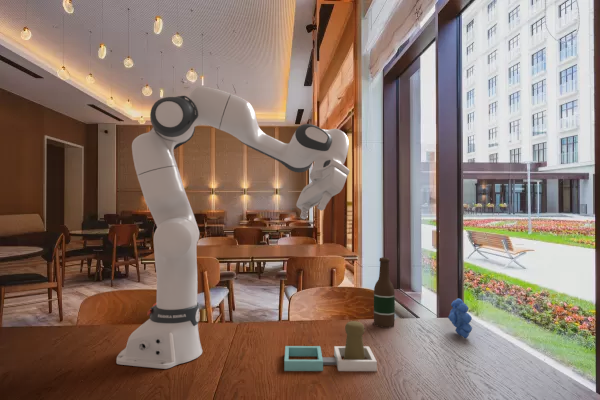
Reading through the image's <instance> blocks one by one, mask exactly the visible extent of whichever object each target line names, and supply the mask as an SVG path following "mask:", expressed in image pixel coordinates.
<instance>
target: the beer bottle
mask: <svg viewBox="0 0 600 400" xmlns="http://www.w3.org/2000/svg"><path fill="white" fill-rule="evenodd" d="M389 263H390V258H389V257H379V276H378V280H377V281H376V282H375V285H374V288H373V325H374V326H377V327H379V328H388V329H389V328H392V327H394V326H395V318H396V317H395V312H396V309H395V307H396V306H395V305H396V301H395V300H396V298H395V297H396V294H395V292H396V291H395V288H394V285H393V283H392V282H391V278H390V265H389Z"/></svg>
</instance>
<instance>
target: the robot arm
mask: <svg viewBox="0 0 600 400" xmlns="http://www.w3.org/2000/svg"><path fill="white" fill-rule="evenodd" d="M149 116H150V123H151V126H152V128H151V130H149V131H148V132H143V133H142V134H140V135H138V136H136V137H135V138H134V139H133V140H132V143H131V151H132V152H131V153H132V159H133V164H134V169H135V172H136V176H137V180H138V183H139V185H140V189H141V192H142V195H143V198H144V199H143V200H144V201H145V204H146V207H147V208H148V209H149V212H150V214H151V217H152V218H153V221H154V224H155V226H156V229H155V231H154V234H153V250H154V251H153V253H154V265H155V272H156V302H155V303H154V304H153V305H152V306H151V307H150V308H149V310H147V316H149V318H148V319H147V320H146V321H144V322H143V323H142V324H141V325H140V326H138V327H137V328H136V329H135V330H134V331H132V332H131V334H130V335H129V336H128V339H127V343H126V347H125V348H124V349H122V350H121V351H120V352H119V353H118V355H117V356H116V364H117V365H121V366H123V365H124V366H131V367H132V366H133V367H140V368H141V367H142V368H152V369H164V370H167V369H170V368H173V367H175V366H177V365H180V364H181V365H182V364H184V363H188V362H191V361H193V360H195V359H197V358H199V357H200V356H201V355H202V354H203V349H202V348H203V347H202V345H201V339H200V333H199V320H200V304H199V302H198V283H199V282H198V261H197V259H198V257H197V255H198V254H197V253H198V252H197V244H198V242H199V239H200V230H199V227H198V223H197V221H196V220H197V219H196V217H195V214H194V212H193V211H194V210H193V208H192V207H191V204H190V201H189V199H188V198H189V197H188V195H187V193H186V190H185V187H184V183H183V181H182V177H181V174H180V171H179V168H178V164H177V161H176V158H175V153H174V150H176V149H177V148H179V147H181V146H182V145H185V144H186V143H187V142H189V141H190V140H191V139H192V138H193V136H194V134H195V130H196V127H197V126H209V127H212V128H215V129H217V130H219V131H222V132H224V133H227V134H229V135H231V136H233V137H234V138H236V139H237V140H238V141H239V142H241V143H242V144H243V145H245V146H246V147H249V148H250V149H252V150H255V151H256V152H258V153H261V154H262V155H265V156H267V157H268V158H271V159H273V160H275V161H277V162H279V163H280V164H282V165H283V166H284V167H285V168H287V169H288V170H290V171H292V172H294V173H304V172H306V171H309V170H310V168H311V170H310V172H309V179H310V180H311V182H310V183H308V184H307V185H305V186H304V187H303V188H302V191H301V192H300V194H299V197H298V199H297V201H296V203H295V205H296V208H298V209H299V210H300V211H301V213H300V215H299V216H300V217H299V218H301V219H302V220H306V219H308V216H309V211H310V210H311V209H312V208H314V207H315V206H316V209H318V210H319V211H324V210H325V209H326V207H327V205H328V204H329V202H330V200H331V199H332V197H334V196H336V195H337V194H339V193H341V192H342V190H343V188H344V186H345V183H346V181H347V177H348V176H349V174H350V172H351V171H350V169H349V168H348V167H347V166H345V165H344V164H345V162H346V158H347V156H348V152H349V147H350V143H349V137H348V136H347V134H346V133H345V132H344V131H342V130H341V129H338V128H331V129H324V128H320V126H317V125H315V124H311V123H304V124H301V125H299V126H298V127H297V128H296V130H295V132H294V133H293V135H292V136H291V139H290V141H289V143H285V142H283V141H281V140H279V139H276V138H275V137H272V136H270V135H269V134H266V133H265V132H264V131H263V130H262V129H261V128H260V125H259V123H258V121H257V120H258V119H257V114H256V111H255V109H254V107H253V106H252V103H250V102H249V101H248V100H246V99H244V98H243V97H241V96H239V95H236V94H233V93H231V92H228V91H225V90H222V89H218V88H214V87H209V86H204V85H198V86H196V87H194V88H193V89H192V90H191V91H190V92H189V95H178V96H167V97H161V98H160V99H158V100H157V101H155V102H154V104H153V105H152V106H151V109H150V112H149Z"/></svg>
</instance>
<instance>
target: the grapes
mask: <svg viewBox="0 0 600 400" xmlns="http://www.w3.org/2000/svg"><path fill="white" fill-rule="evenodd" d="M450 305H451V307H452V308H451V310H450V311H449V315H448V316H447V317H448V320H449V321H450V322H451V324H452V325H453V326H454V327H455V332H456V334H457V335H458V336H460V337H463V338H464V339H467V338H468V337H469V336H470V333H471V332H472V330H473V327H472V325H471V324H470V323H471V322H472V319H473V318H472V316H471V315H470V314H469V313H468V312H469V309H470V308H469V307H468V305H467V304H466V303H465V302H464V301H463V300H462V299H461V298H460V297H459V298H458V297H457V298H456V299H453V301H452V302H451V304H450Z"/></svg>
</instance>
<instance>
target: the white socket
mask: <svg viewBox="0 0 600 400" xmlns="http://www.w3.org/2000/svg"><path fill="white" fill-rule="evenodd" d="M345 346H346V345H344V346H343V345H342V346H341V345H340V346H339V345H338V346H336V345H334V346H333V351H334V352H333V355H334V357H333V356H332V357H330V356H329V357H325V356H322V358H323V366H336V368H337V371H338V372H378V361H377V359H376V357H375V355H374V353H373V351H372V349H371V348H370V346H367V345H365V346H364V345H363V346H364V354H365V358H366V359H365V360H344V359H342V357H343V358H344V353H345Z"/></svg>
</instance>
